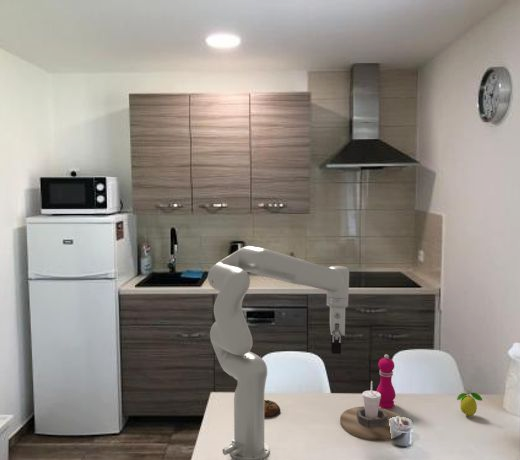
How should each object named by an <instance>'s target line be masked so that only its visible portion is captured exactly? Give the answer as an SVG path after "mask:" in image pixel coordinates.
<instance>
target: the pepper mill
mask: <svg viewBox="0 0 520 460" xmlns="http://www.w3.org/2000/svg"><path fill="white" fill-rule="evenodd" d="M377 364H378V366H377V367H378V369H379V373H378V374H379V375H380V380H379V381H380V382H379V384H378V386H377V388H376V390H375V391H376V392H379V393H380V394H381V399H380V402H379V408H382V409H385V410H389V409H393V408H394V407H395V401H394V400H395V399H396V390H395V388H394V386H393V383H392V378H393V375H394V374H393V373H394V371H393V370H394V369H395V362H394V361H393V360H392V359H391V358H390V356H389V354H387V353H386V354H384V356H383V357H381V359H379V361H378V363H377Z"/></svg>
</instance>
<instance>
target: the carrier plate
mask: <svg viewBox="0 0 520 460" xmlns="http://www.w3.org/2000/svg"><path fill="white" fill-rule="evenodd" d="M396 416H399V415H398V414H397V413H395V412H394V411H391V410H389V409H385V408H381V407H379V409H378V416H377V419H369V418H366V416H365V407H364V406H356V407H352V408H349V409H346V410H344V411H343V412H342V413H341V414H340V419H339V421H340V422H339V423H340V426H341V428H342V429H343V430H344V431H345V432H346V433H348V434H350V435H352V436H353V437H357V438H360V439H363V440H369V441H389V440H390V441H391V440H392V439H391V433H390V426H389V419H390V418H392V417H396Z"/></svg>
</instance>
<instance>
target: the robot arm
mask: <svg viewBox="0 0 520 460" xmlns="http://www.w3.org/2000/svg"><path fill="white" fill-rule="evenodd" d="M249 273H250V274H254V275H258V276H261V277H266V278H269V279H273V280H277V281H282V282H285V283H288V284H289V283H290V284H293V285H298V286H299V285H300V286H306V287H311V288H314V289H317V290H322V291H326V306H327V307H329V329H330V336H331V337H330V338H331V341H330V343H331V349H330V350H331V354H332V355H333V354H334V355H341V354H342V341H341V339H342V338H341V336H345V335H346V333H345V332H346V308H348V307H349V291H350V290H349V288H350V284H349V283H350V270H349V268H348V267H346V266H342V265H332V266H325V265H321V264H318V263H313V262H309V261H307V260H305V259H302V258H299V257H296V256H291V255H288V254H286V253H281V252H278V251H274V250H271V249H268V248H264V247H257V246H253V245H247V246H243V247H241V248H239V249H237V250H236V251H234V252H232V253H231V254H229V255H228V256H226V257H224V258H223V259H221V260H219V261H218V262H217V263H214V264H213V266H212V267H210V270H209V271H208V273H207V282H208V284H209V285H210V286H211V288H213V289H214V290H217V291H218V294H217V296H216V298H215V301H214V305H213V315H214V319H215V322H213V323H212V325H211V328H210V330H209V331H210V333H209V336H210V342H211V344H212V345H211V346H212V347H213V350H214V353H215V355H216V358H217V361H218V363H219V364H220V368H222V370H223V371H224V372H225V373H226V374H227V375H229V376H230V377H232V378H234V379H235V380H236V381H237V385H236V388H235V391H234V394H233V395H234V396H233V411H234V412H233V415H234V416H233V417H234V418H233V421H234V423H233V427H234V428H233V431H234V438H233V439H231V443H230V444H229V446H227V447H224V448H223V449H222V451H221V452H222V454H223V455H224V456H226V455H229V454H230V456H231V457H232V458H234V459H235V460H263V459H265V458H266V457H267V456H268V455H269V453H270V445H269V444H268V443H267V442H266V441H265V417H264V400H265V392H266V390H265V389H266V382H267V376H268V366H267V364H266V362H265V360H264V359H263V358H262V357H261V356H259V355H257V354H256V353H254V352H252V351H251V350H252V347H253V344H254V343H253V342H254V341H253V337H252V333H251V330H250V328H249V325H248V323H247V321H246V318H245V315H244V312H243V306H242V305H243V300H244V298H245V296H246V294H247V293H248V290H249V288H250V285H251V279H250V275H249Z"/></svg>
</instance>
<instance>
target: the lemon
mask: <svg viewBox="0 0 520 460" xmlns="http://www.w3.org/2000/svg"><path fill="white" fill-rule="evenodd" d="M470 394H471V395H470ZM456 400H457V401H460V404H459V405H460V411H461V412H462V414H464V415H466V417H470V416H473V415H474V414H476V412H477V409H478V407H477V402H476V400H477V401H483V398H482V397H481V395H480V394H479V393H477V392H470V391H469V392H468V393H465V392H461V393H460V394H459V395H458V396H457V398H456Z"/></svg>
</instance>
